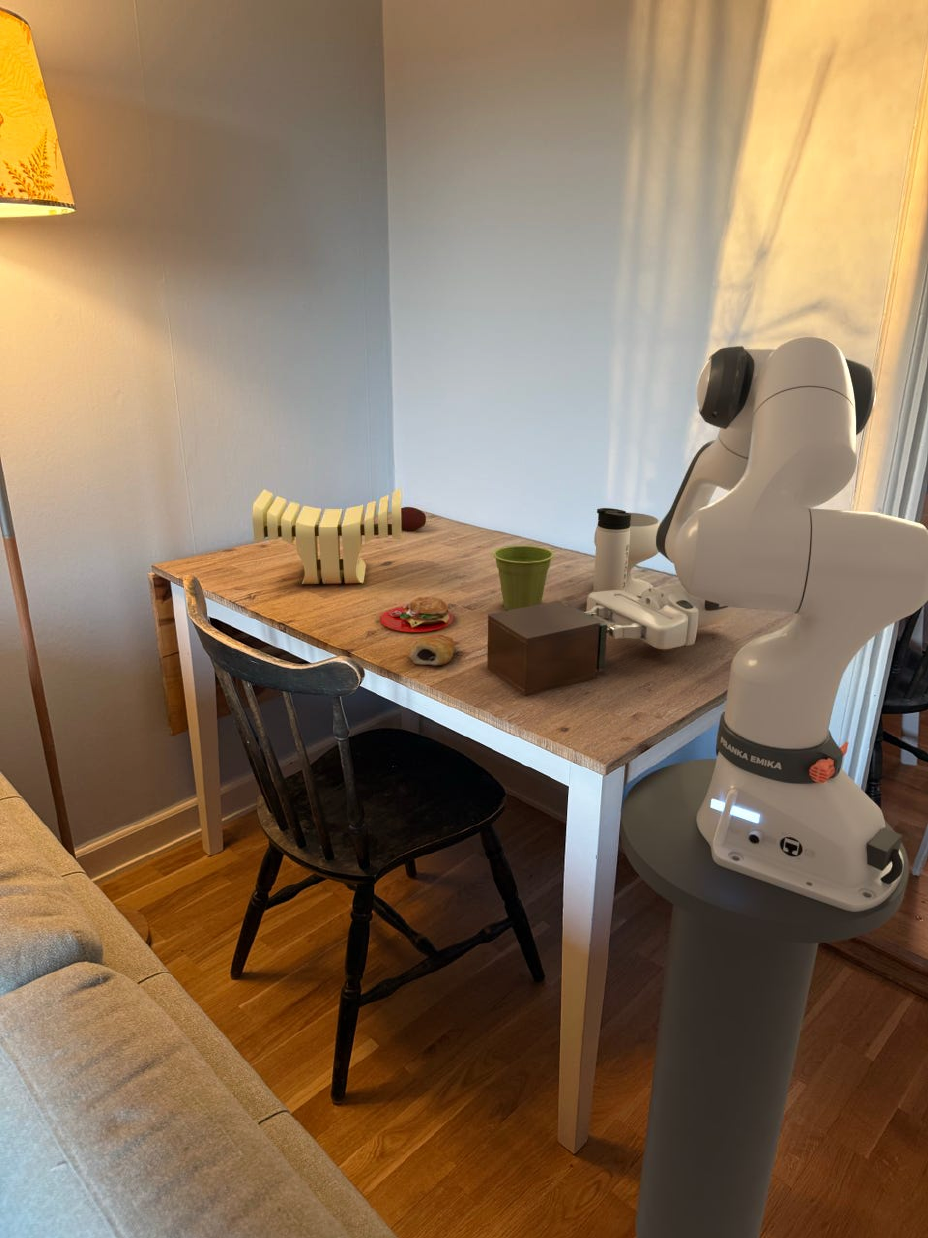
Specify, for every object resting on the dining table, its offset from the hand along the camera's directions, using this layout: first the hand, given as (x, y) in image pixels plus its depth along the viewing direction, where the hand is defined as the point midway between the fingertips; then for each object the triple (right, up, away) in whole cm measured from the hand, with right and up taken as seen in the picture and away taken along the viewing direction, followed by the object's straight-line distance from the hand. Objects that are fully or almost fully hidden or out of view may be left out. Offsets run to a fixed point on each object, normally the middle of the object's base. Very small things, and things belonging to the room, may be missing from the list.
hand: (598, 625), depth 137 cm
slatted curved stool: (-51, +10, +44) cm, 68 cm away
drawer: (-6, -6, -1) cm, 8 cm away
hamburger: (-31, +1, +20) cm, 37 cm away
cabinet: (-10, -8, -3) cm, 13 cm away
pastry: (-28, -6, +3) cm, 28 cm away
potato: (-37, +24, +80) cm, 91 cm away
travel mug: (+6, +3, +26) cm, 27 cm away
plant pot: (-11, +3, +26) cm, 28 cm away
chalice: (+11, +7, +37) cm, 39 cm away
